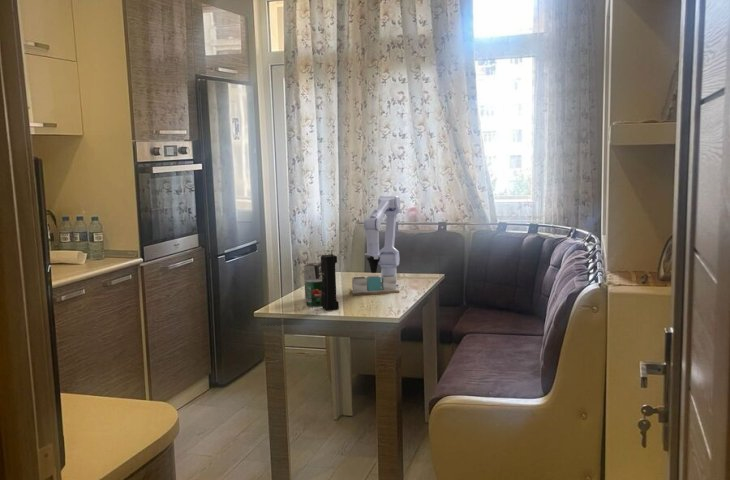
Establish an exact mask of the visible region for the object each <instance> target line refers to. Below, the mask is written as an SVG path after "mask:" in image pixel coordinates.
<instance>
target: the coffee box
mask: <svg viewBox="0 0 730 480" xmlns="http://www.w3.org/2000/svg"><path fill="white" fill-rule="evenodd" d="M303 271H304V273H303V274H304V275H303V276H304V280H303V281H305V280H308V279H322V274H321V262H313V263H311V262H309V263H307V264H305V265H304V266H303ZM304 300H305V302H306V285H305V284H304Z"/></svg>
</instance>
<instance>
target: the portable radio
mask: <svg viewBox="0 0 730 480" xmlns="http://www.w3.org/2000/svg"><path fill="white" fill-rule="evenodd" d="M320 263H321V274H322V283H321V306H320V307H321V308H322V309H323V310H325V311H327V312H328V311H336V310H339V309H340V304H339V301H338V299H337V280H336V279H337V277H336V275H337V274H336V264H337V263H338V256H337V255H335V254H333V249H332V250H331V254H321V256H320Z"/></svg>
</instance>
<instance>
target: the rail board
mask: <svg viewBox="0 0 730 480" xmlns="http://www.w3.org/2000/svg"><path fill="white" fill-rule="evenodd" d="M396 276H397V275H396ZM396 276H394V275H383V276H380V277H381V280H382V285H381V290H377V291H368V290H367V280H366V276H354V277H352V278H351V280H352V281H351V283H352V284H351V286H352V289H351V290H349V293H350V294H351V295H352V296H353V297H355V296H365V295H366V296H370V295H381V294H395V293H397V294H398V293H400V289H398V288H397V285H396Z"/></svg>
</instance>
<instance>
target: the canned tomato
mask: <svg viewBox="0 0 730 480" xmlns="http://www.w3.org/2000/svg"><path fill="white" fill-rule="evenodd" d="M321 283H322V279H308V280H304V286H305V285H306V301H305V302H306V304H305V305H306V307H307V308H308V307H309V308H318V307H321Z"/></svg>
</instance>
